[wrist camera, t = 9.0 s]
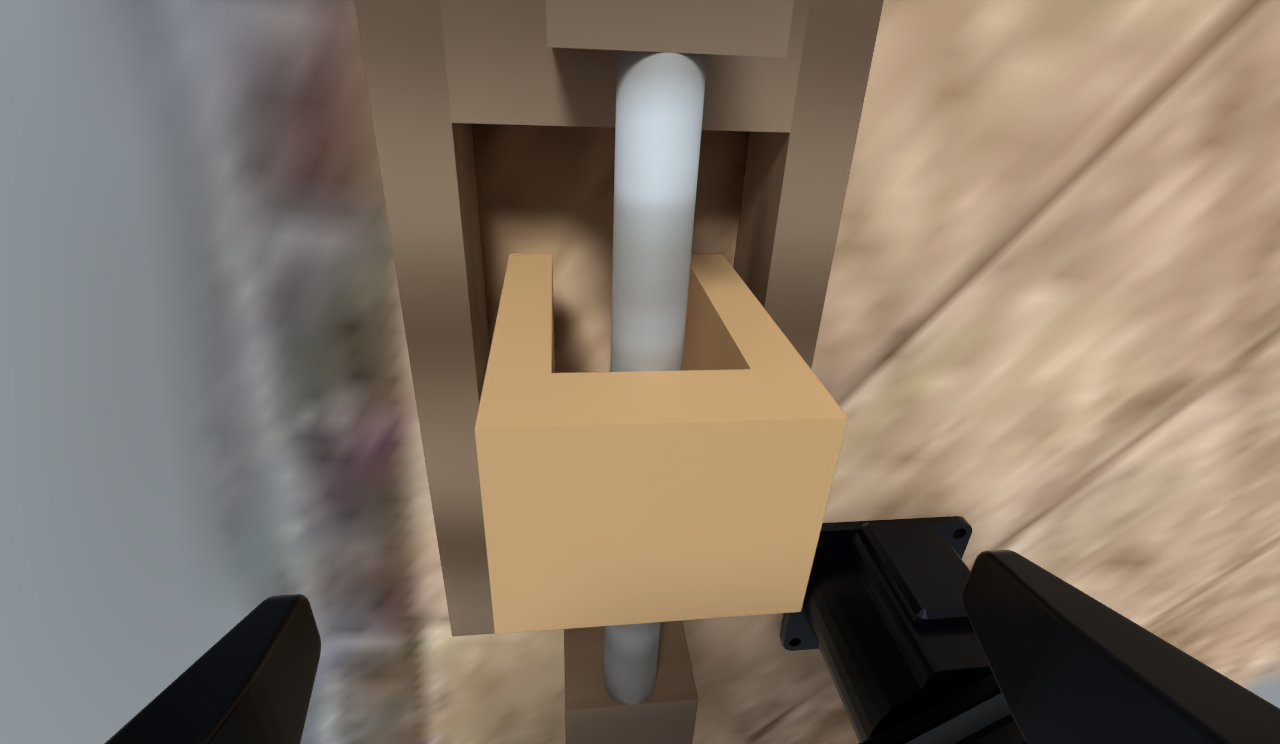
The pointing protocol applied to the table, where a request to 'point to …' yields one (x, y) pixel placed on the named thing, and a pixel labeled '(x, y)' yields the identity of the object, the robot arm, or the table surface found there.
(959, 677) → the robot arm
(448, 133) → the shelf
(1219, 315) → the table surface
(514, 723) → the table surface
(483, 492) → the clip
